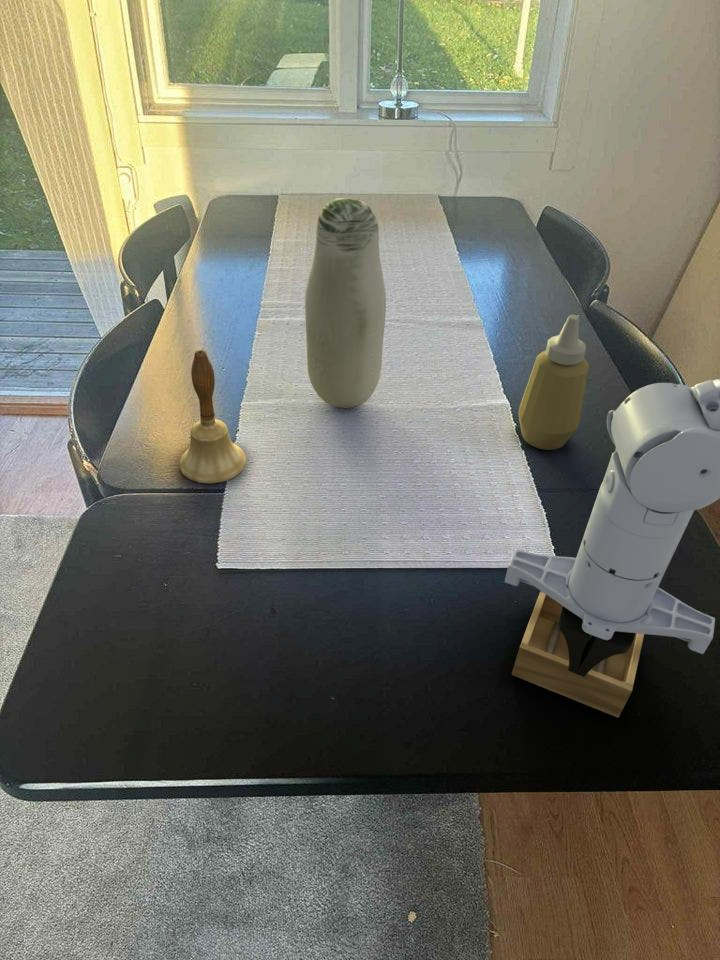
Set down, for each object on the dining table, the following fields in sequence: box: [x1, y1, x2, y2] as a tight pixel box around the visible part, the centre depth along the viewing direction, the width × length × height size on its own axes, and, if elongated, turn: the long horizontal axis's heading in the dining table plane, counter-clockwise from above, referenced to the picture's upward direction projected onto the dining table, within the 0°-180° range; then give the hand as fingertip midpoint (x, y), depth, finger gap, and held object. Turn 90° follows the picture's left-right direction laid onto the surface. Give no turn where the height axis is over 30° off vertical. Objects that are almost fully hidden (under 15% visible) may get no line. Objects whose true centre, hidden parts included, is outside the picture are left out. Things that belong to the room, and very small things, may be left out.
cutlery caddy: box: [511, 590, 645, 718], centre depth 66 cm, size 8×10×4 cm
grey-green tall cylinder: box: [304, 197, 387, 409], centre depth 91 cm, size 10×10×28 cm
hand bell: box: [179, 349, 247, 484], centre depth 83 cm, size 8×8×16 cm
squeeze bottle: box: [517, 314, 590, 451], centre depth 89 cm, size 8×8×18 cm
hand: (578, 664), depth 57 cm, fingers closed
